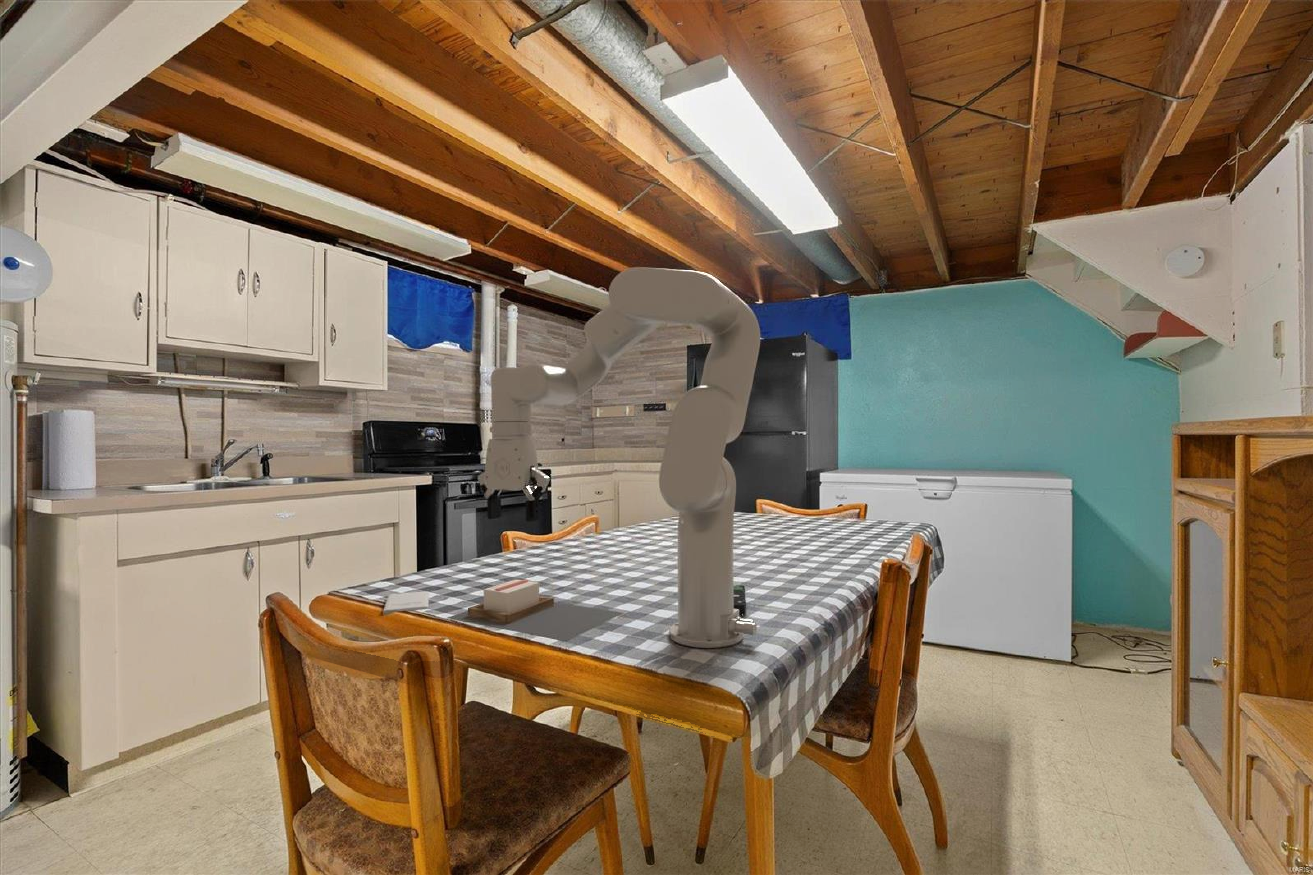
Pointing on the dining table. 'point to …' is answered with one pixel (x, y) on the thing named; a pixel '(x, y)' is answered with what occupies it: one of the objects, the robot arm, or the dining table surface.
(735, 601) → the disk drive
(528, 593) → the block
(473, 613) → the tray
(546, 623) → the mat
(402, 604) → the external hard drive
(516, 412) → the robot arm
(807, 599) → the dining table surface
